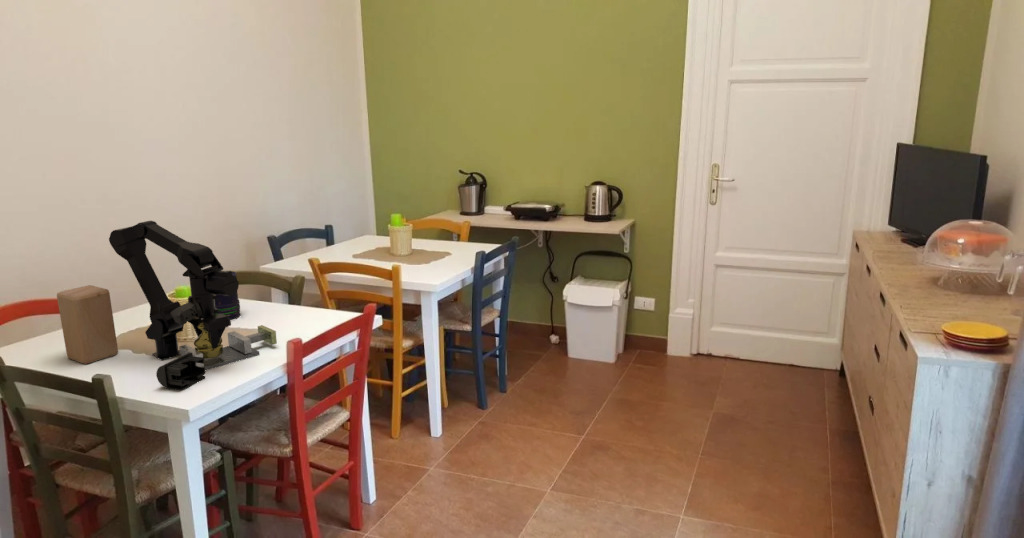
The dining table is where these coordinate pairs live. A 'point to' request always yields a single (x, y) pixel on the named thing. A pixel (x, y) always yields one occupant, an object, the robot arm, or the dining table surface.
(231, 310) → the storage jar
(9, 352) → the dining table surface
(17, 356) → the dining table surface
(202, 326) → the olive finial
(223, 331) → the robot arm
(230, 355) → the vise bed
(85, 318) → the wooden block
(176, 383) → the end cap
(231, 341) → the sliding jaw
